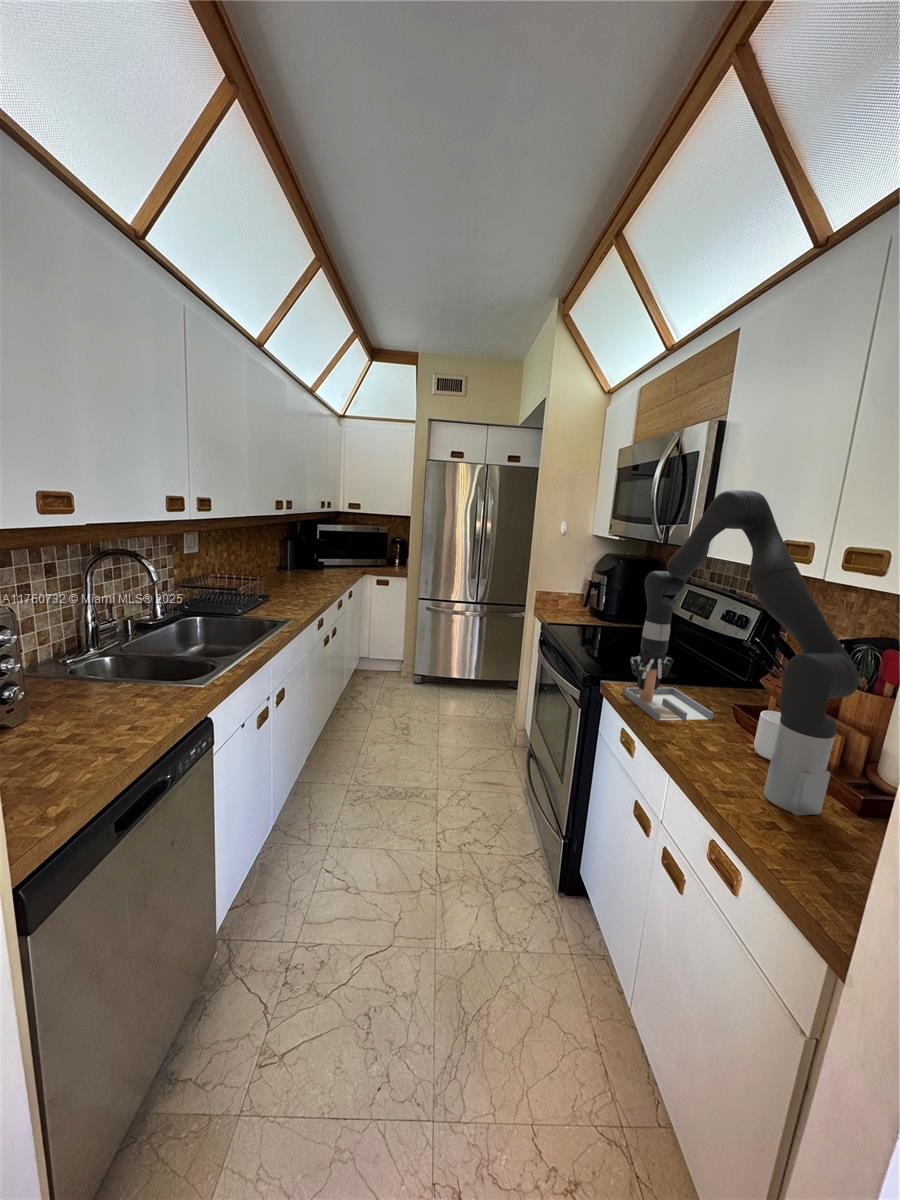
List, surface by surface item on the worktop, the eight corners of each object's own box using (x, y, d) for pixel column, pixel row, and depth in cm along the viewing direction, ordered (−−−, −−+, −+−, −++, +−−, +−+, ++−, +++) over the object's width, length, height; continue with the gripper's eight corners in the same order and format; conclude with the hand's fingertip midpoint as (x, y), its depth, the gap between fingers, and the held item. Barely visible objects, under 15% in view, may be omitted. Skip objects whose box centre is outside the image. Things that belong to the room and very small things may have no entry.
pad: (678, 718, 136) (678, 716, 136) (659, 718, 135) (660, 717, 134) (666, 709, 141) (666, 707, 141) (648, 709, 140) (648, 708, 140)
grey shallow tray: (711, 722, 137) (713, 712, 136) (655, 723, 134) (657, 713, 133) (671, 695, 155) (673, 686, 154) (621, 695, 152) (622, 687, 151)
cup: (759, 759, 117) (767, 721, 115) (744, 737, 129) (751, 702, 127) (797, 765, 115) (806, 728, 113) (778, 742, 127) (786, 708, 124)
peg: (655, 700, 145) (660, 670, 143) (643, 700, 144) (648, 670, 142) (647, 695, 149) (652, 665, 147) (636, 695, 148) (640, 665, 146)
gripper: (641, 639, 138) (633, 693, 141) (684, 639, 140) (675, 693, 144) (627, 632, 145) (620, 684, 148) (669, 632, 147) (660, 684, 151)
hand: (647, 688), depth 146 cm, fingers closed on peg, 4 cm apart
